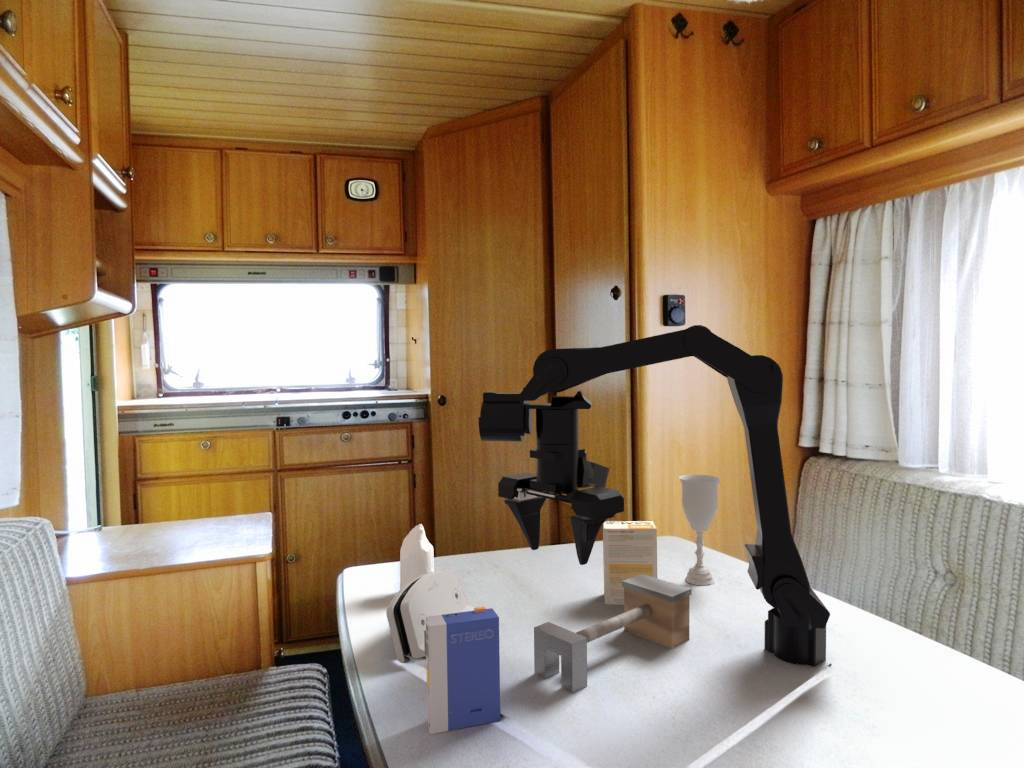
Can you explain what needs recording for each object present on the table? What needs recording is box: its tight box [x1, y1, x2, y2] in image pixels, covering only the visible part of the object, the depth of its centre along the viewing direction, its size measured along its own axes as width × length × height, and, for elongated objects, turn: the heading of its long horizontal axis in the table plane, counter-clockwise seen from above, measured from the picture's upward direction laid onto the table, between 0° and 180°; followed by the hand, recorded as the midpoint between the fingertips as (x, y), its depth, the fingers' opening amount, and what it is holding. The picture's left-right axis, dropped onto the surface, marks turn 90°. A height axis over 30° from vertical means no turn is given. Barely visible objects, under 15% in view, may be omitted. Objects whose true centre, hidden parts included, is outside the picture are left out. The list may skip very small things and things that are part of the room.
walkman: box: [424, 606, 501, 735], centre depth 74 cm, size 8×3×12 cm, turn 107°
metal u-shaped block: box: [533, 621, 588, 694], centre depth 81 cm, size 6×2×7 cm, turn 41°
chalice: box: [678, 474, 722, 586], centre depth 118 cm, size 7×7×18 cm
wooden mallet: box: [575, 574, 693, 649], centre depth 90 cm, size 18×8×8 cm, turn 132°
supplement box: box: [602, 520, 659, 606], centre depth 107 cm, size 8×5×13 cm, turn 84°
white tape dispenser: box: [385, 569, 476, 663], centre depth 96 cm, size 17×5×10 cm, turn 159°
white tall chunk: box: [399, 523, 435, 590], centre depth 113 cm, size 6×12×6 cm
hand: (558, 556), depth 92 cm, fingers open, 9 cm apart
